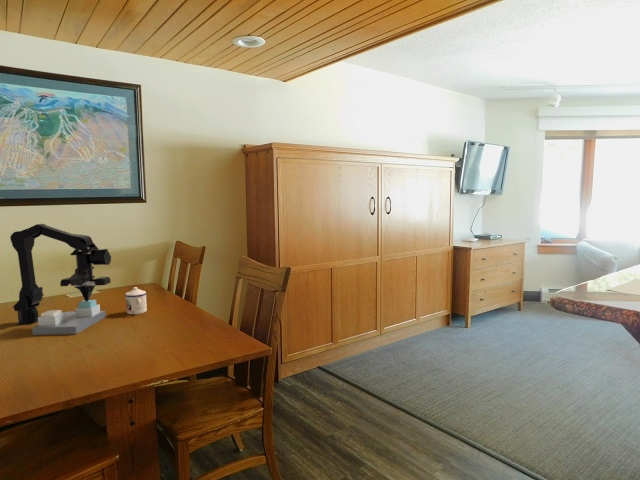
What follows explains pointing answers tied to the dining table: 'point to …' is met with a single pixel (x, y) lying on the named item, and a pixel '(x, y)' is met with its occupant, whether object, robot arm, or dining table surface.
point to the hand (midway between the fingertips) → (87, 301)
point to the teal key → (87, 304)
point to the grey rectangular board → (69, 321)
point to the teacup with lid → (136, 301)
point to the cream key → (51, 313)
